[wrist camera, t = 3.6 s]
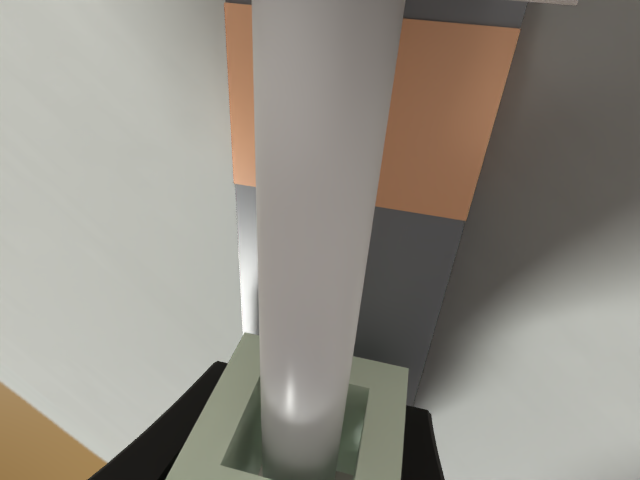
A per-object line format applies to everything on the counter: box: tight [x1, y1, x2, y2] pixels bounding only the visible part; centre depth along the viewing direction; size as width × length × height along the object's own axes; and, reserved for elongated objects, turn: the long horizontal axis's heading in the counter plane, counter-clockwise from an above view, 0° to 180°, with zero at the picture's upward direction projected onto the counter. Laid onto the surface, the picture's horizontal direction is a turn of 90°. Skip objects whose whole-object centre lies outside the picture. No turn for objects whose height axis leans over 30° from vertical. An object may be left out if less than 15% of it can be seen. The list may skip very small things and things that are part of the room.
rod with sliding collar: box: [224, 0, 579, 480], centre depth 9 cm, size 16×5×6 cm, turn 176°
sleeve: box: [165, 332, 409, 480], centre depth 9 cm, size 4×4×4 cm
